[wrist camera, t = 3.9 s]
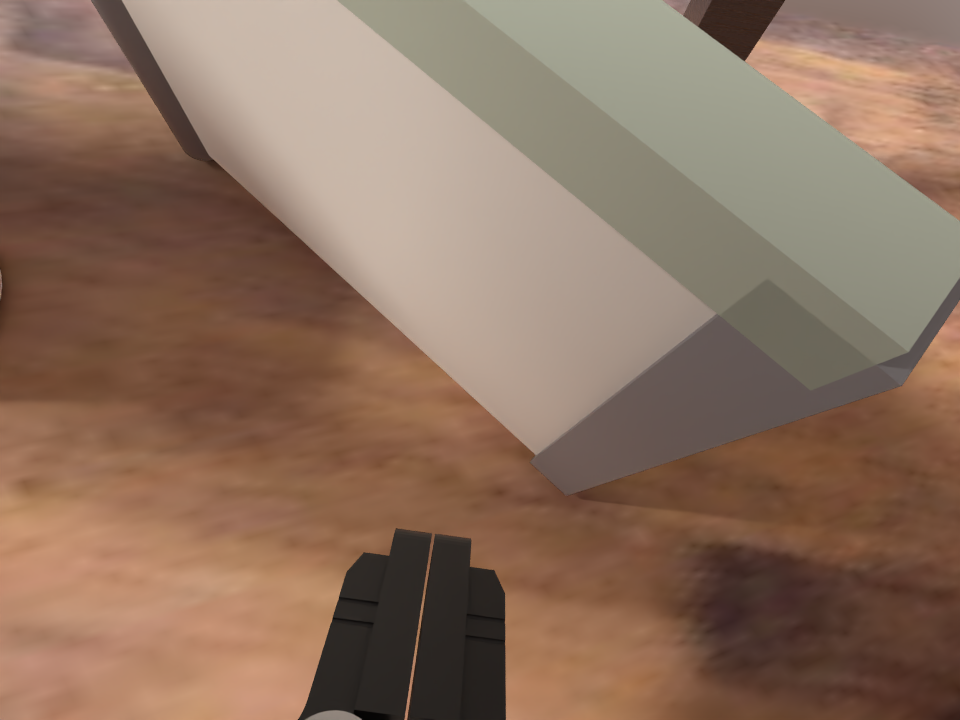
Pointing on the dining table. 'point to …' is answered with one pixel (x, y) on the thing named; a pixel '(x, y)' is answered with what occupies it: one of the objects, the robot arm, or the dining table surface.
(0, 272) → the can
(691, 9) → the gate frame
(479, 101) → the gate
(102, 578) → the dining table surface
